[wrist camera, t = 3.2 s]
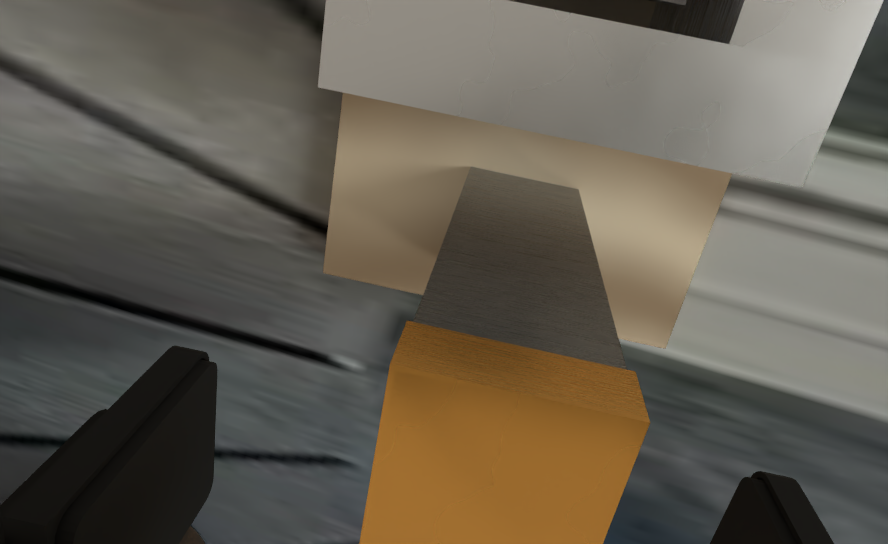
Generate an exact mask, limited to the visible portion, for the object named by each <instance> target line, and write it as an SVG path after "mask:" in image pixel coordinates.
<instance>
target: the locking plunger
mask: <svg viewBox="0 0 888 544" xmlns="http://www.w3.org/2000/svg"><path fill="white" fill-rule="evenodd" d="M649 1H654V2H659V3H664V4H669V5H686V2H687V0H649Z"/></svg>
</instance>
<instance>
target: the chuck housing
mask: <svg viewBox="0 0 888 544" xmlns="http://www.w3.org/2000/svg"><path fill="white" fill-rule="evenodd" d="M882 3H883V0H687V2H686V5H669V4H664V3H659V2H656V5H655V9H654V12H653V15H652V19H651V22H650V26H649V28H645V27H640V26H635V25H630V24H625V23H620V22H615V21H609V20H604V19H599V18H594V17H589V16H584V15H579V14H574V13H569V12H564V11H559V10H554V9H549V8H544V7H539V6H534V5H529V4H524V3H519V2H514V1H509V0H326V5H325V16H324V27H323V37H322V48H321V58H320V69H319V79H318V87H319V88H324V89H329V90H333V91H338V92H343V93H348V94H353V95H357V96H362V97H367V98H372V99H377V100H381V101H386V102H391V103H396V104H401V105H405V106H410V107H415V108H420V109H425V110H430V111H434V112H439V113H444V114H449V115H454V116H458V117H463V118H468V119H473V120H478V121H482V122H487V123H492V124H497V125H502V126H506V127H511V128H516V129H521V130H526V131H531V132H535V133H540V134H545V135H550V136H555V137H559V138H564V139H569V140H574V141H579V142H583V143H588V144H593V145H598V146H603V147H607V148H612V149H617V150H622V151H627V152H632V153H636V154H641V155H646V156H651V157H656V158H660V159H665V160H670V161H675V162H680V163H684V164H689V165H694V166H699V167H704V168H708V169H713V170H718V171H723V172H728V173H733V174H737V175H742V176H747V177H752V178H757V179H761V180H766V181H771V182H776V183H781V184H785V185H790V186H795V187H800V188H802V187H803V185H804V183H805V180H806V178H807V176H808V174H809V171H810V169H811V167H812V164H813V162H814V160H815V157H816V155H817V153H818V150H819V148H820V146H821V144H822V141H823V139H824V137H825V134H826V132H827V130H828V127H829V125H830V123H831V120H832V118H833V116H834V114H835V111H836V109H837V107H838V104H839V102H840V100H841V97H842V95H843V93H844V90H845V88H846V86H847V83H848V81H849V79H850V77H851V74H852V72H853V70H854V67H855V65H856V63H857V60H858V58H859V56H860V53H861V51H862V49H863V47H864V44H865V42H866V40H867V37H868V35H869V33H870V30H871V28H872V26H873V23H874V21H875V19H876V17H877V14H878V12H879V10H880V7H881V5H882Z"/></svg>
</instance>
